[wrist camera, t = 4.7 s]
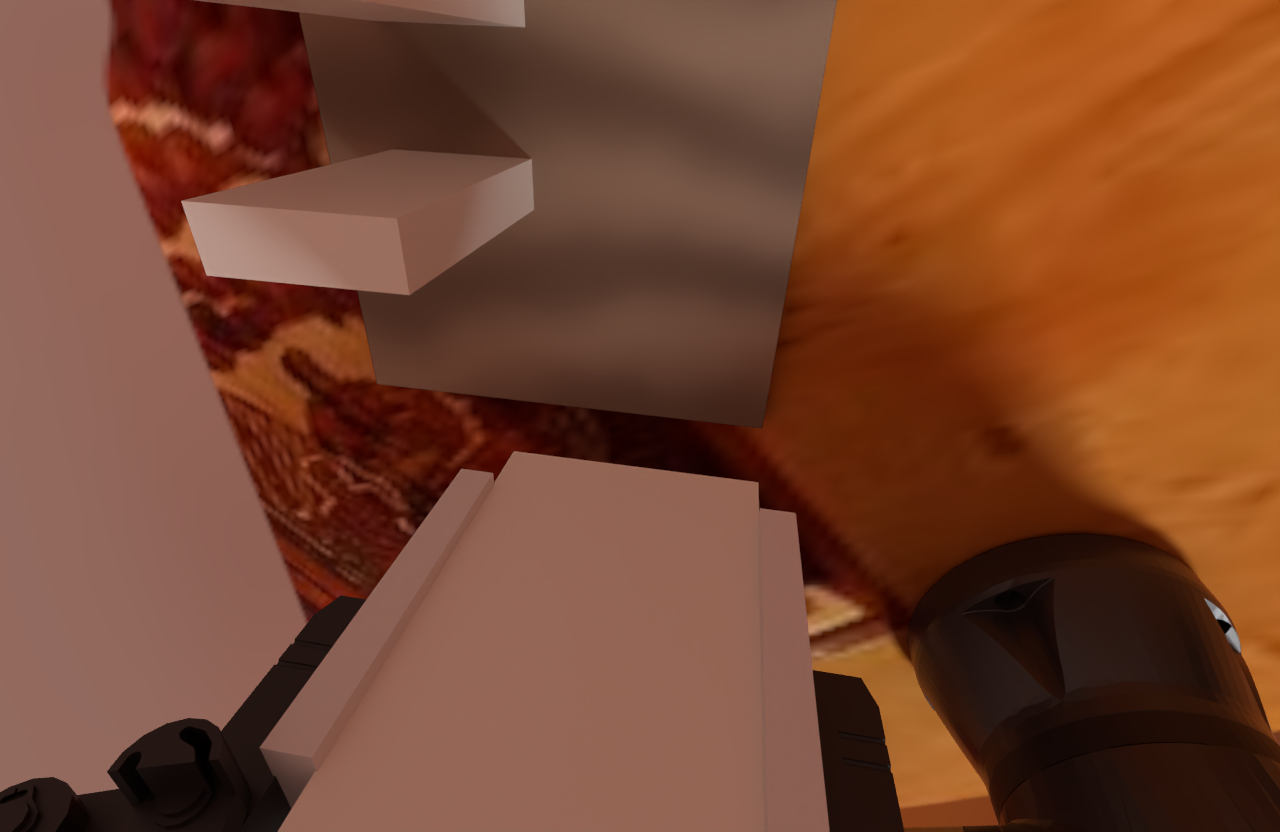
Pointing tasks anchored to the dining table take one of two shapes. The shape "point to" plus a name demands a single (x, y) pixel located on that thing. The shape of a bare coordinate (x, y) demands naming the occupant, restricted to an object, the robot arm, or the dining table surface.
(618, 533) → the loose domino
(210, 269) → the domino
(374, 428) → the dining table surface
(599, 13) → the walnut board
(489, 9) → the domino
